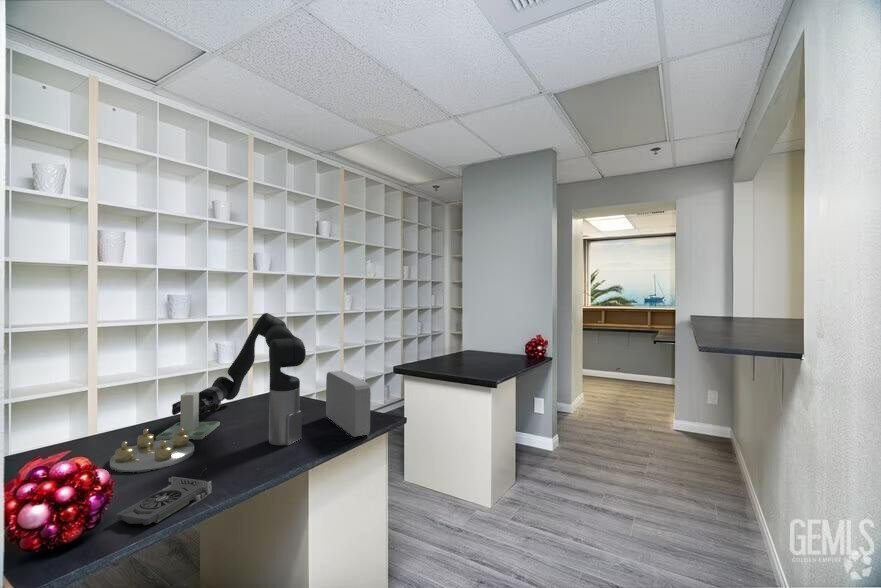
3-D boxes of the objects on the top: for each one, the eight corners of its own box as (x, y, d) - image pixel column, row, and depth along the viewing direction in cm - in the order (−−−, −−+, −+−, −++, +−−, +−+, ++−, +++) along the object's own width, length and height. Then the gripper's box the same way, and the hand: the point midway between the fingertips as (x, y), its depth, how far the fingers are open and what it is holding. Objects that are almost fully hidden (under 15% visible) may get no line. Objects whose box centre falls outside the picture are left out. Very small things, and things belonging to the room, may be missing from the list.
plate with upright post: (219, 424, 147) (220, 388, 147) (202, 439, 133) (202, 398, 133) (178, 425, 145) (178, 388, 145) (155, 440, 131) (156, 399, 131)
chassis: (205, 443, 130) (206, 422, 130) (172, 471, 110) (173, 447, 110) (137, 445, 127) (137, 424, 127) (91, 474, 107) (91, 449, 107)
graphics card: (172, 474, 102) (212, 479, 99) (172, 489, 102) (213, 494, 99) (102, 510, 86) (148, 517, 83) (102, 527, 86) (148, 535, 83)
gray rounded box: (376, 436, 139) (377, 383, 139) (355, 440, 135) (356, 386, 134) (344, 413, 162) (345, 368, 162) (325, 417, 158) (326, 370, 158)
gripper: (188, 389, 152) (164, 401, 136) (228, 388, 154) (210, 400, 138) (188, 409, 153) (164, 423, 136) (228, 408, 154) (209, 422, 138)
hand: (187, 411), depth 137 cm, fingers open, 8 cm apart
